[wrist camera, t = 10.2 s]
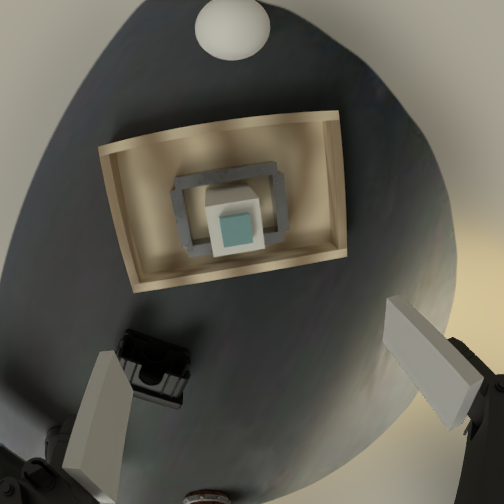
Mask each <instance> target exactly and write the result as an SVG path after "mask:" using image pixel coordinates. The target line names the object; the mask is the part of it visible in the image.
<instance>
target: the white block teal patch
mask: <svg viewBox="0 0 504 504" xmlns="http://www.w3.org/2000/svg"><path fill="white" fill-rule="evenodd" d="M205 212H206V217H207V223H208V229H209V234H210V240H211V245H212V251H213V256H214V257H218V256H224V255H230V254H236V253H242V252H248V251H254V250H260V249H265V244H264V236H263V228H262V219H261V211H260V203H259V198H258V196H257V195H256V194H255V193H254V191H253V190H252V189H251V187H250V186H249V185H248V183H244V184H237V185H231V186H224V187H218V188H212V189H206V190H205Z"/></svg>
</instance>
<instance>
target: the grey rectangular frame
mask: <svg viewBox="0 0 504 504" xmlns="http://www.w3.org/2000/svg"><path fill="white" fill-rule="evenodd" d="M268 175H269V182H270V191H271V199H272V208H273V217H274V226H273V227H267V228H263V236H264V244H265V245H268V244H274V243H280V242H285V237H284V231H287V230H289V220H288V209H287V199H286V190H285V180H284V173H282V172H280V171H278V170H277V162H274V161H266V162H259V163H251V164H244V165H238V166H231V167H224V168H218V169H212V170H206V171H200V172H194V173H189V174H183V175H178V176H175V177H174V184H175V188H172V189H171V190H170V196H171V201H172V206H173V211H174V216H175V221H176V226H177V231H178V235H179V240H180V245H181V248H185V247H187V250H188V255H189V258H191V257H196V256H202V255H208V254H213V251H212V245H211V240H210V237H207V238H201V239H195V240H193V236H192V231H191V226H190V221H189V215H188V210H187V205H186V199H185V194H184V189H186V188H192V187H198V186H203V185H209V184H215V183H221V182H228V181H234V180H241V179H247V178H254V177H261V176H268Z"/></svg>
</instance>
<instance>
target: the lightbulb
mask: <svg viewBox="0 0 504 504" xmlns="http://www.w3.org/2000/svg"><path fill="white" fill-rule="evenodd" d="M269 33H270V20H269V17H268V15H267V13H266V11H265V10H264V8H263V7H262V6H261V5H260V4H259V3H258V2H256V1H255V0H212V1H210V2H209V3H208V4H206V5H205V6H204V7H203V8H202V10H201V11H200V13H199V14H198V17H197V19H196V23H195V34H196V37H197V41H198V42H199V44H200V46H201V47H202V48H203V49H204V50H205V51H206V52H208V53H209V54H210V55H212V56H214V57H216V58H219V59H223V60H240V59H245V58H247V57H250V56H252V55H254V54H255V53H257V52H258V51H259V50H260V49H261V48H262V47H263V46H264V44H265V43H266V41H267V39H268V37H269Z"/></svg>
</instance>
